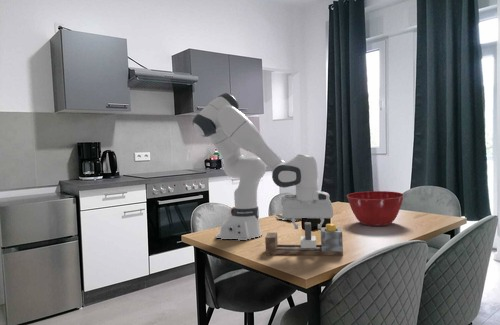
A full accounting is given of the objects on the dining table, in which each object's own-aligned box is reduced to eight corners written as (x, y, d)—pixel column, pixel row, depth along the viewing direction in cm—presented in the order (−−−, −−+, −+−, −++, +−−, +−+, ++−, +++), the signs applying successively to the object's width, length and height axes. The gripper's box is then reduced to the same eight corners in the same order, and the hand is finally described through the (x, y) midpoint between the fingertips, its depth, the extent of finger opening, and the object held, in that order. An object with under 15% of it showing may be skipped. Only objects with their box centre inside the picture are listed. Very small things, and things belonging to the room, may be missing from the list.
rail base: (266, 254, 143) (264, 232, 143) (268, 249, 151) (267, 227, 151) (343, 255, 138) (342, 232, 138) (341, 249, 146) (340, 227, 145)
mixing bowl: (357, 231, 174) (356, 199, 173) (341, 219, 202) (340, 192, 202) (415, 228, 175) (414, 196, 174) (390, 216, 203) (389, 189, 202)
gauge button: (326, 237, 141) (325, 225, 141) (326, 234, 145) (325, 223, 144) (336, 237, 140) (336, 225, 140) (336, 234, 144) (335, 223, 144)
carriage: (300, 248, 141) (299, 225, 141) (301, 243, 148) (300, 221, 148) (316, 248, 140) (315, 225, 140) (316, 243, 147) (315, 221, 147)
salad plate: (267, 220, 212) (267, 212, 212) (285, 214, 225) (285, 207, 225) (294, 223, 199) (294, 215, 199) (312, 217, 212) (311, 210, 212)
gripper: (280, 196, 142) (281, 230, 143) (333, 195, 139) (334, 230, 139) (281, 194, 148) (282, 227, 149) (332, 193, 145) (333, 227, 146)
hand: (307, 228), depth 144 cm, fingers open, 8 cm apart
